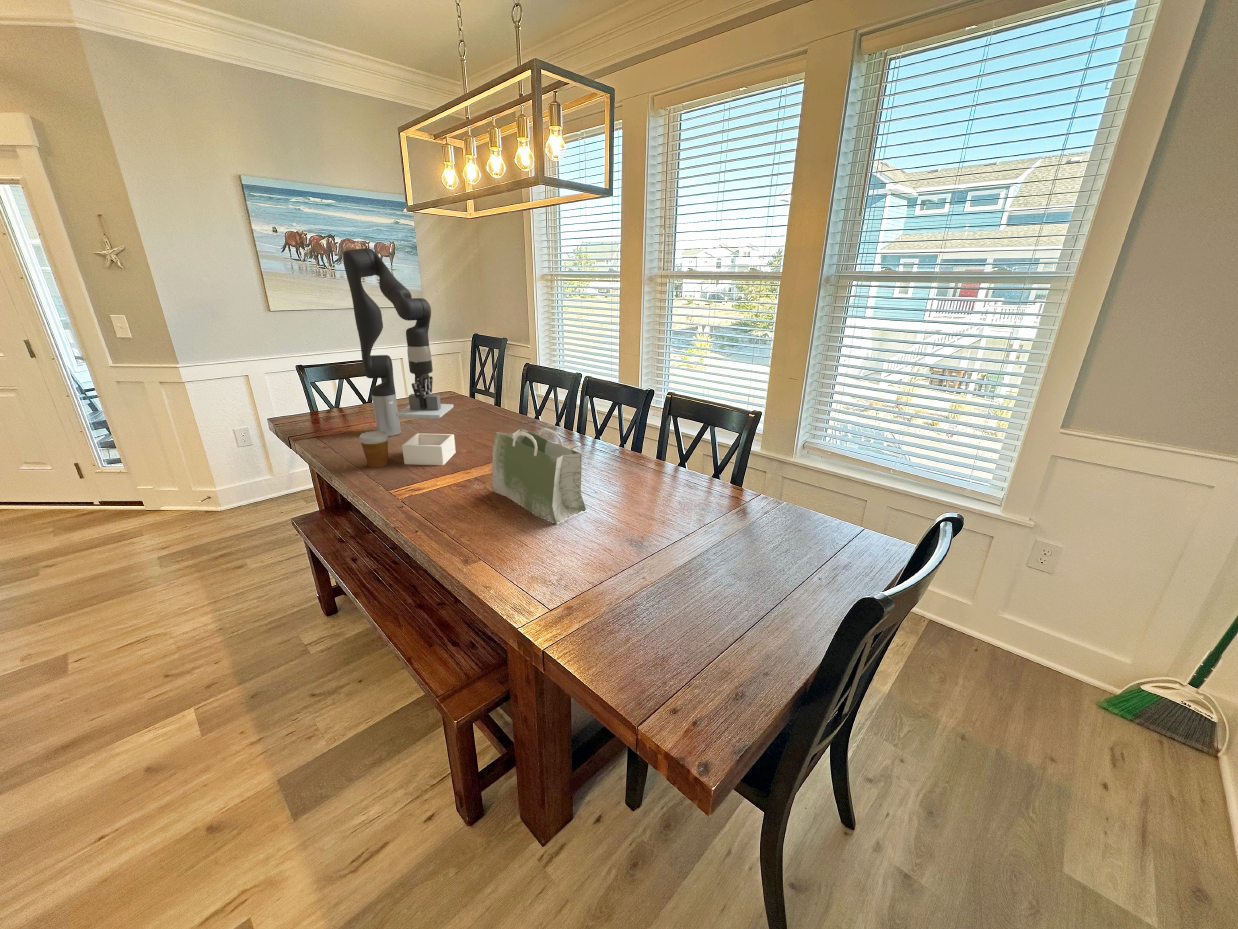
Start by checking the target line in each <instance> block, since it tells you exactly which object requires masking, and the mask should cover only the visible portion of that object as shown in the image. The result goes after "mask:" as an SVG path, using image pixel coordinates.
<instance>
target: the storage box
mask: <svg viewBox="0 0 1238 929" xmlns="http://www.w3.org/2000/svg"><path fill="white" fill-rule="evenodd" d="M401 447H402V448H401V449H402V456H403V462H404V463H403V464H404V465H415V466H416V465H417V466H418V465H419V466H420V465H421V466H424V465H425V466H444V465H445V464H446V463H447V462H448V461H449V460H450V459H451V458H452V457H453V456H454V455H455V454H456V452H457V451H456V441H455V434H450V433H446V434H445V433H424V432H423V433H416V434H414V435H413V436H411V437H410V438H409V439H408V440H407V441H405V442H404V443H403V444H402V445H401Z"/></svg>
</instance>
